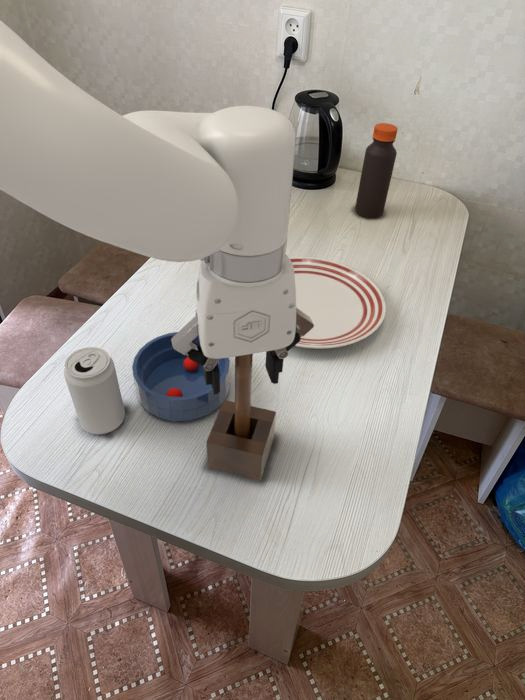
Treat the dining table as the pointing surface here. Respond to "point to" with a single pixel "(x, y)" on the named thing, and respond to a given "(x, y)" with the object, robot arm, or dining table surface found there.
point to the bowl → (175, 382)
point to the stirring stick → (243, 394)
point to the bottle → (377, 172)
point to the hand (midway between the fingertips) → (243, 379)
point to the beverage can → (94, 390)
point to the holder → (240, 442)
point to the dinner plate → (336, 302)
